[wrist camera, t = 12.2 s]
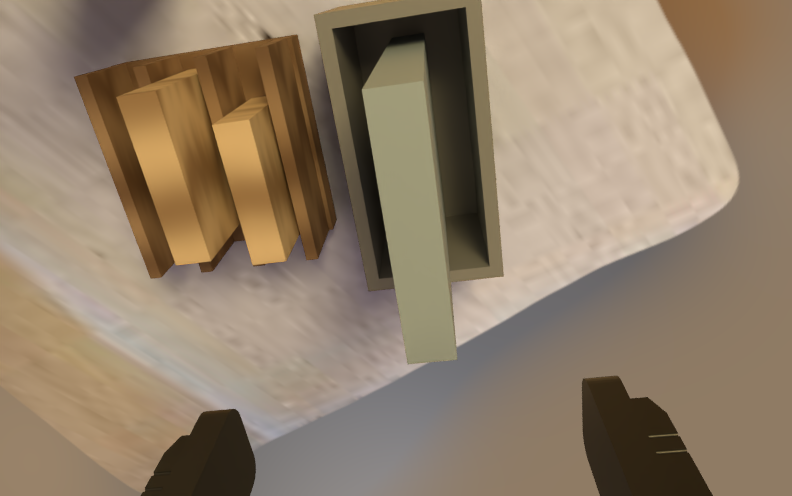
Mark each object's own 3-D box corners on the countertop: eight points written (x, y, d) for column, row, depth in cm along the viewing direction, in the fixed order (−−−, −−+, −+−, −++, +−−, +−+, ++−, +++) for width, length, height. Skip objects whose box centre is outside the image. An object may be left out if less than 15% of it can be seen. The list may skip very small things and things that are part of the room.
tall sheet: (391, 37, 38) (361, 89, 20) (424, 32, 38) (423, 80, 20) (415, 203, 43) (407, 364, 25) (443, 199, 43) (457, 359, 25)
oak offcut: (188, 69, 39) (116, 97, 30) (219, 64, 38) (155, 90, 29) (228, 205, 43) (175, 265, 34) (256, 201, 42) (211, 261, 33)
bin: (340, 6, 38) (313, 14, 29) (466, -15, 37) (480, -13, 28) (380, 229, 45) (368, 291, 36) (487, 215, 44) (503, 276, 35)
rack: (124, 62, 41) (69, 77, 34) (297, 34, 39) (272, 44, 33) (184, 238, 46) (146, 278, 40) (336, 219, 45) (322, 258, 39)
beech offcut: (251, 98, 39) (212, 125, 32) (281, 93, 39) (249, 119, 32) (281, 217, 43) (252, 265, 36) (309, 213, 43) (286, 261, 36)
